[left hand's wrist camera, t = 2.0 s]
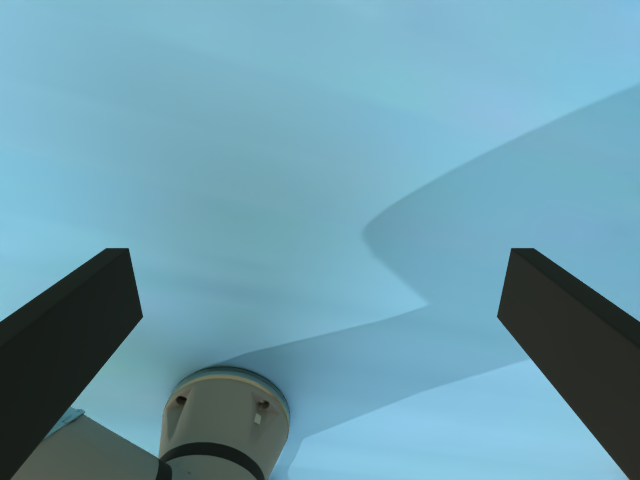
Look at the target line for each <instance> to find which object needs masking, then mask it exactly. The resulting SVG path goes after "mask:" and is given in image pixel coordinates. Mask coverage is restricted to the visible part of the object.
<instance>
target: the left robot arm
mask: <svg viewBox="0 0 640 480" xmlns="http://www.w3.org/2000/svg"><path fill="white" fill-rule="evenodd" d="M142 318H143V315H142V310H141V305H140V300H139V296H138V291H137V286H136V281H135V276H134V272H133V267H132V262H131V257H130V253H129V248H106V249H104V250H103V251H102V252H100V253H99V254H97V255H96V256H94V257H93V258H92V259H90V260H89V261H87V262H86V263H84V264H83V265H81V266H80V267H79V268H77V269H76V270H74V271H73V272H71V273H70V274H69V275H67V276H66V277H64V278H63V279H61V280H60V281H58V282H57V283H56V284H54V285H53V286H51V287H50V288H48V289H47V290H46V291H44V292H43V293H41V294H40V295H38V296H37V297H35V298H34V299H33V300H31V301H30V302H28V303H27V304H25V305H24V306H23V307H21V308H20V309H18V310H17V311H15V312H14V313H12V314H11V315H10V316H8V317H7V318H5V319H4V320H2V321H1V322H0V480H268V478H269V476H270V474H271V472H272V470H273V468H274V466H275V464H276V462H277V460H278V458H279V456H280V453H281V451H282V449H283V447H284V445H285V443H286V441H287V438H288V432H289V423H290V412H289V407H288V404H287V402H286V400H285V398H284V396H283V395H282V394H281V392H280V391H279V390H278V389H277V388H276V387H275V386H274V385H273V384H272V383H270V382H269V381H268V380H266V379H265V378H263V377H261V376H259V375H257V374H255V373H252V372H249V371H246V370H242V369H238V368H230V367H216V368H208V369H204V370H201V371H198V372H195V373H193V374H191V375H189V376H188V377H186V378H185V379H183V380H182V381H181V382H180V383H179V384H178V385H177V386H176V387H175V389H174V390H173V392H172V394H171V396H170V398H169V400H168V402H167V404H166V406H165V409H164V412H163V420H162V429H161V438H160V448H159V457H158V458H157V457H155V456H154V455H152V454H150V453H149V452H147V451H145V450H143V449H142V448H140V447H138V446H136V445H135V444H133V443H131V442H130V441H128V440H126V439H124V438H123V437H121V436H119V435H117V434H116V433H114V432H112V431H111V430H109V429H107V428H105V427H104V426H102V425H100V424H99V423H97V422H95V421H94V420H92V419H90V418H89V417H87V416H85V415H84V413H85V411H84V410H82V409H78V410H76V409H74V408H72V407H70V406H71V405H72V403H73V402H74V401H75V400H76V399H77V397H78V396H79V395H80V394H81V392H82V391H83V390H84V389H85V387H86V386H87V385H88V384H89V383H90V381H91V380H92V379H93V378H94V376H95V375H96V374H97V373H98V372H99V370H100V369H101V368H102V367H103V365H104V364H105V363H106V362H107V360H108V359H109V358H110V357H111V356H112V354H113V353H114V352H115V351H116V349H117V348H118V347H119V346H120V345H121V343H122V342H123V341H124V340H125V338H126V337H127V336H128V335H129V333H130V332H131V331H132V330H133V329H134V327H135V326H136V325H137V324H138V322H139V321H140V320H141V319H142ZM497 318H498V319H499V320H500V321H501V322H502V324H503V325H504V326H505V327H506V329H507V330H508V331H509V332H510V333H511V335H512V336H513V337H514V338H515V340H516V341H517V342H518V343H519V345H520V346H521V347H522V348H523V349H524V351H525V352H526V353H527V354H528V356H529V357H530V358H531V359H532V360H533V362H534V363H535V364H536V365H537V367H538V368H539V369H540V370H541V372H542V373H543V374H544V375H545V376H546V378H547V379H548V380H549V381H550V383H551V384H552V385H553V386H554V387H555V389H556V390H557V391H558V392H559V394H560V395H561V396H562V397H563V399H564V400H565V401H566V402H567V403H568V405H569V406H570V407H571V408H572V410H573V411H574V412H575V413H576V414H577V416H578V417H579V418H580V419H581V421H582V422H583V423H584V424H585V426H586V427H587V428H588V429H589V430H590V432H591V433H592V434H593V435H594V437H595V438H596V439H597V440H598V442H599V443H600V444H601V445H602V446H603V448H604V449H605V450H606V451H607V453H608V454H609V455H610V456H611V457H612V459H613V460H614V461H615V462H616V464H617V465H618V466H619V467H620V469H621V470H622V471H623V472H624V473H625V475H626V476H627V477H628V478H629V480H640V322H639V321H638V320H636V319H635V318H633V317H632V316H630V315H629V314H628V313H626V312H625V311H623V310H622V309H620V308H619V307H617V306H616V305H615V304H613V303H612V302H610V301H609V300H607V299H606V298H605V297H603V296H602V295H600V294H599V293H597V292H596V291H594V290H593V289H592V288H590V287H589V286H587V285H586V284H584V283H583V282H582V281H580V280H579V279H577V278H576V277H574V276H573V275H571V274H570V273H569V272H567V271H566V270H564V269H563V268H561V267H560V266H559V265H557V264H556V263H554V262H553V261H551V260H550V259H548V258H547V257H546V256H544V255H543V254H541V253H540V252H538V251H537V250H536V249H534V248H511V253H510V257H509V262H508V267H507V272H506V276H505V281H504V286H503V291H502V296H501V300H500V305H499V310H498V315H497Z"/></svg>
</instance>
